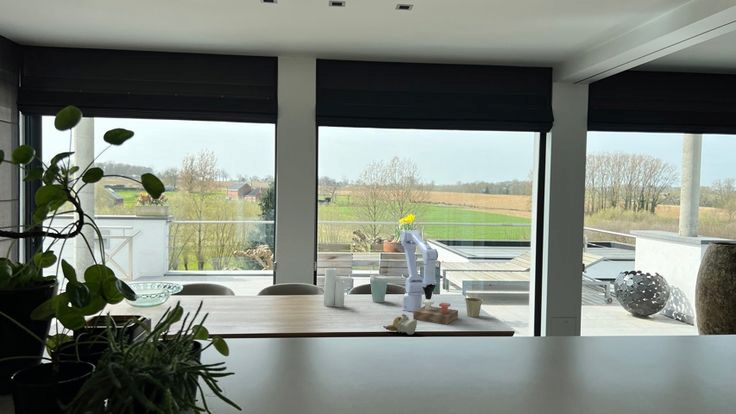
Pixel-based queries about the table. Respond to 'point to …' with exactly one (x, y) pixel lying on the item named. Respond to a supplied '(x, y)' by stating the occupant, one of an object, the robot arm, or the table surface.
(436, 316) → the panel
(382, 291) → the disposable coffee cup
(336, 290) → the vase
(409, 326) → the ceramic sculpture
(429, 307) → the cream button
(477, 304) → the flower pot
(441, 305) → the red button
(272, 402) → the table surface
